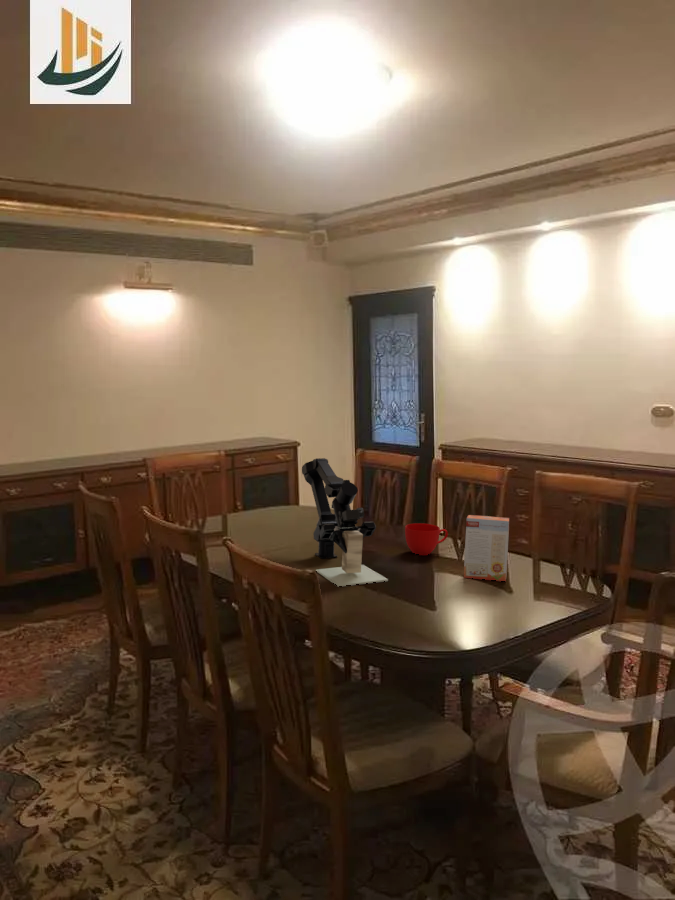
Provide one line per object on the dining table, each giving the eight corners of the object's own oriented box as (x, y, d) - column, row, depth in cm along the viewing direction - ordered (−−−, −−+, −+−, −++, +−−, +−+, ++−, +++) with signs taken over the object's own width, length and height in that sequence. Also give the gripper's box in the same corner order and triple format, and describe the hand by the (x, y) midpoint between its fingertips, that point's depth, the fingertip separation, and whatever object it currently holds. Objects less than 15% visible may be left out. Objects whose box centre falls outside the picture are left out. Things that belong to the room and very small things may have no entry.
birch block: (341, 568, 245) (343, 531, 243) (355, 568, 246) (357, 530, 245) (346, 573, 240) (348, 534, 238) (360, 572, 242) (362, 534, 240)
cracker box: (506, 577, 247) (510, 517, 244) (505, 582, 241) (509, 521, 238) (464, 573, 251) (468, 513, 248) (463, 578, 245) (466, 517, 242)
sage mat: (315, 571, 248) (315, 569, 247) (362, 566, 255) (363, 564, 255) (338, 586, 231) (338, 585, 231) (387, 581, 239) (388, 579, 239)
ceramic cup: (453, 556, 272) (455, 530, 270) (411, 558, 267) (413, 531, 266) (439, 547, 284) (440, 522, 283) (399, 549, 279) (400, 523, 278)
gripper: (323, 500, 240) (333, 541, 232) (375, 498, 247) (387, 538, 238) (315, 518, 249) (324, 558, 240) (365, 515, 255) (376, 554, 246)
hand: (353, 552), depth 241 cm, fingers closed on birch block, 5 cm apart
